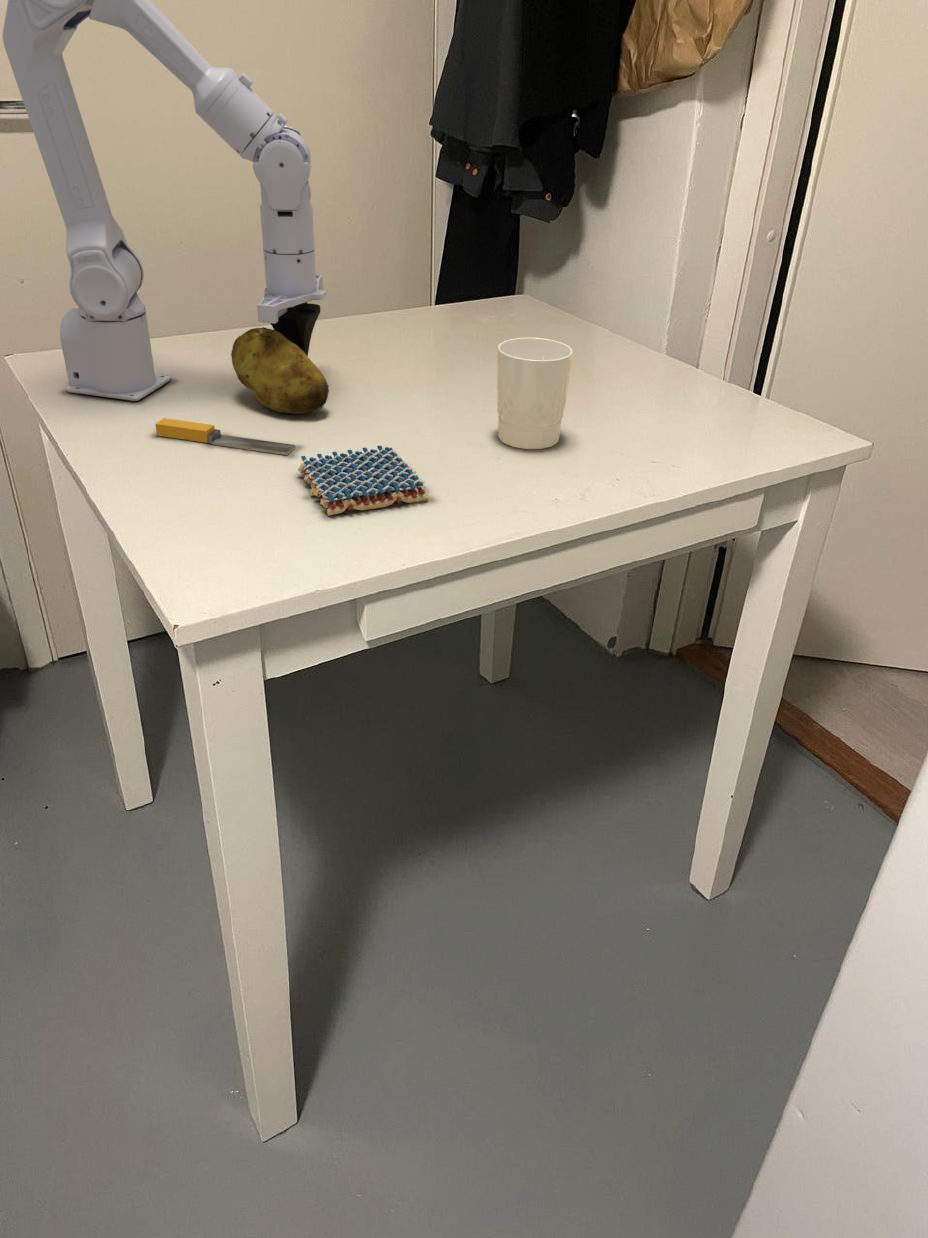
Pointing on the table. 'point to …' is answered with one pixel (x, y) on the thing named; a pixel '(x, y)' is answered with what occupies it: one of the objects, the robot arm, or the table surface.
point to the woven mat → (362, 480)
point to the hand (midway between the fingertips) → (296, 367)
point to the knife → (216, 436)
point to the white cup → (532, 391)
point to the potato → (278, 372)
